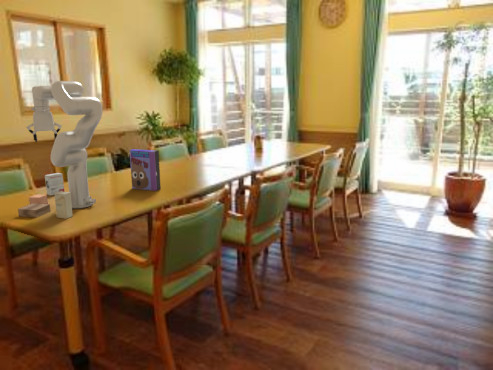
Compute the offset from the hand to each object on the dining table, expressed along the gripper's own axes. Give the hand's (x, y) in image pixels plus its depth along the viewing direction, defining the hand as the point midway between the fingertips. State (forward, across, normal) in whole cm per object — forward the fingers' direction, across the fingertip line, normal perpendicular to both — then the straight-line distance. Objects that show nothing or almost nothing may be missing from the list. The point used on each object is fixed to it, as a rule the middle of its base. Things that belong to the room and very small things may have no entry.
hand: (46, 141), depth 224 cm
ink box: (+32, +1, +9) cm, 33 cm away
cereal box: (+32, +52, -1) cm, 61 cm away
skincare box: (+32, +7, -42) cm, 54 cm away
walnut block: (+32, -7, -31) cm, 45 cm away
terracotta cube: (+32, -6, -18) cm, 37 cm away
